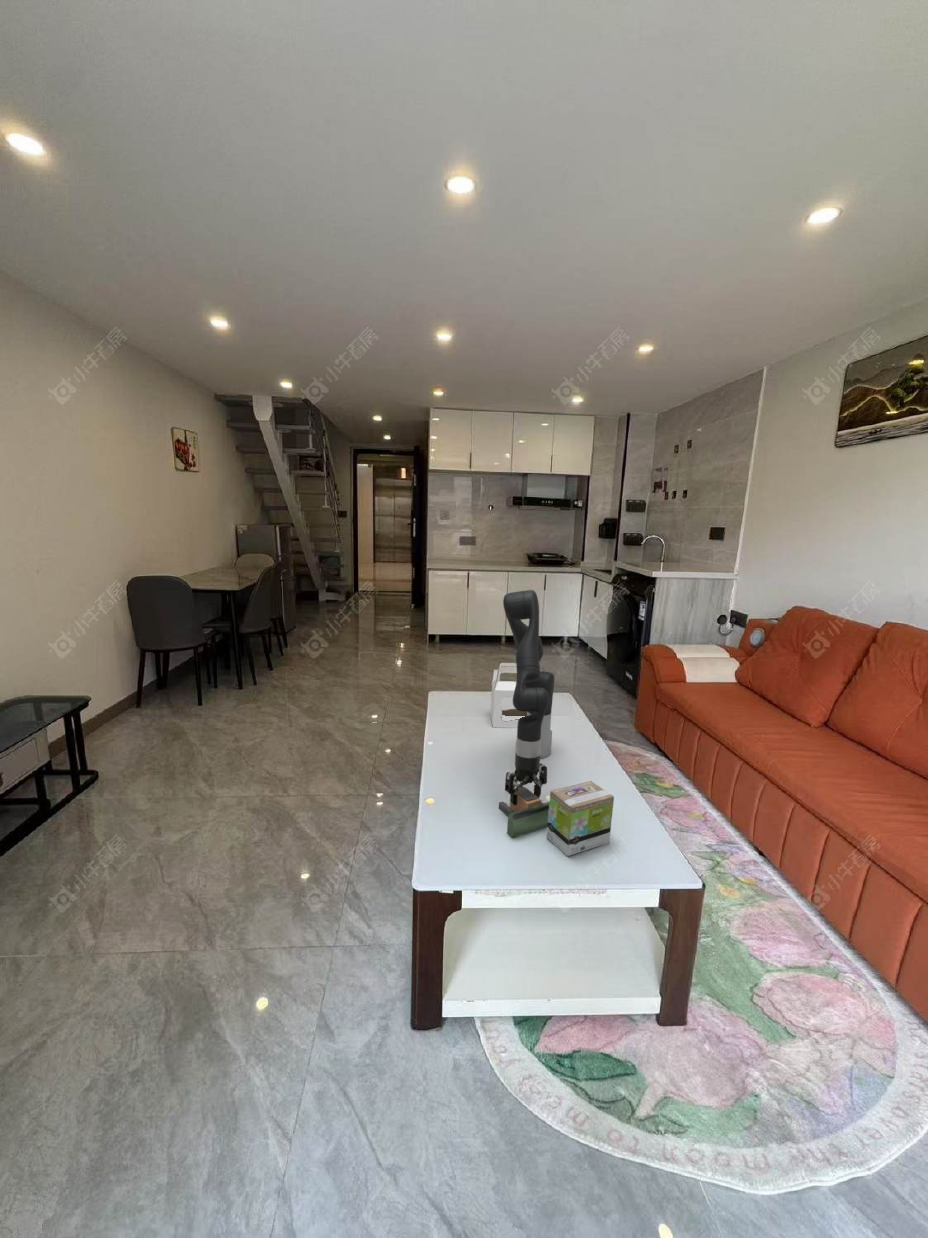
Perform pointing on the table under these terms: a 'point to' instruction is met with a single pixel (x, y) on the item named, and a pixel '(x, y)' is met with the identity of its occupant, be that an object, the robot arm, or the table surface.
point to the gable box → (501, 691)
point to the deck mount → (525, 818)
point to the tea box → (579, 817)
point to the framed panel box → (525, 800)
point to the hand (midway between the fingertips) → (525, 800)
